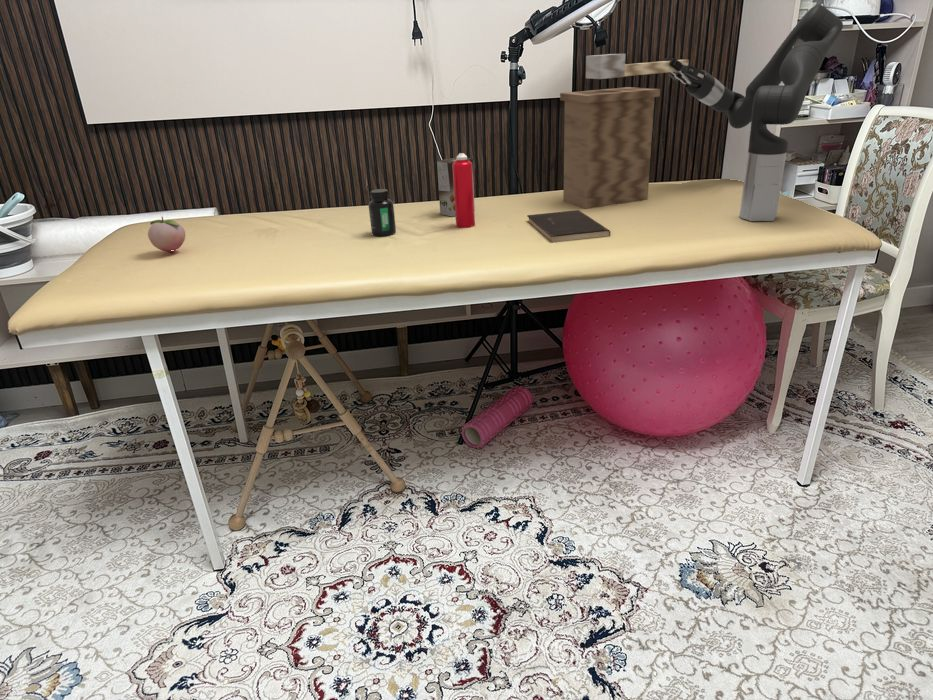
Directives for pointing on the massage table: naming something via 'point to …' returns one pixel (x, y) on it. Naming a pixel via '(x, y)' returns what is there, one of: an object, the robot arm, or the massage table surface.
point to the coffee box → (447, 186)
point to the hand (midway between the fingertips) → (667, 61)
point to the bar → (623, 67)
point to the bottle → (463, 192)
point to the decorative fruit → (166, 235)
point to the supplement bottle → (381, 213)
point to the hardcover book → (567, 226)
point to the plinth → (607, 145)
